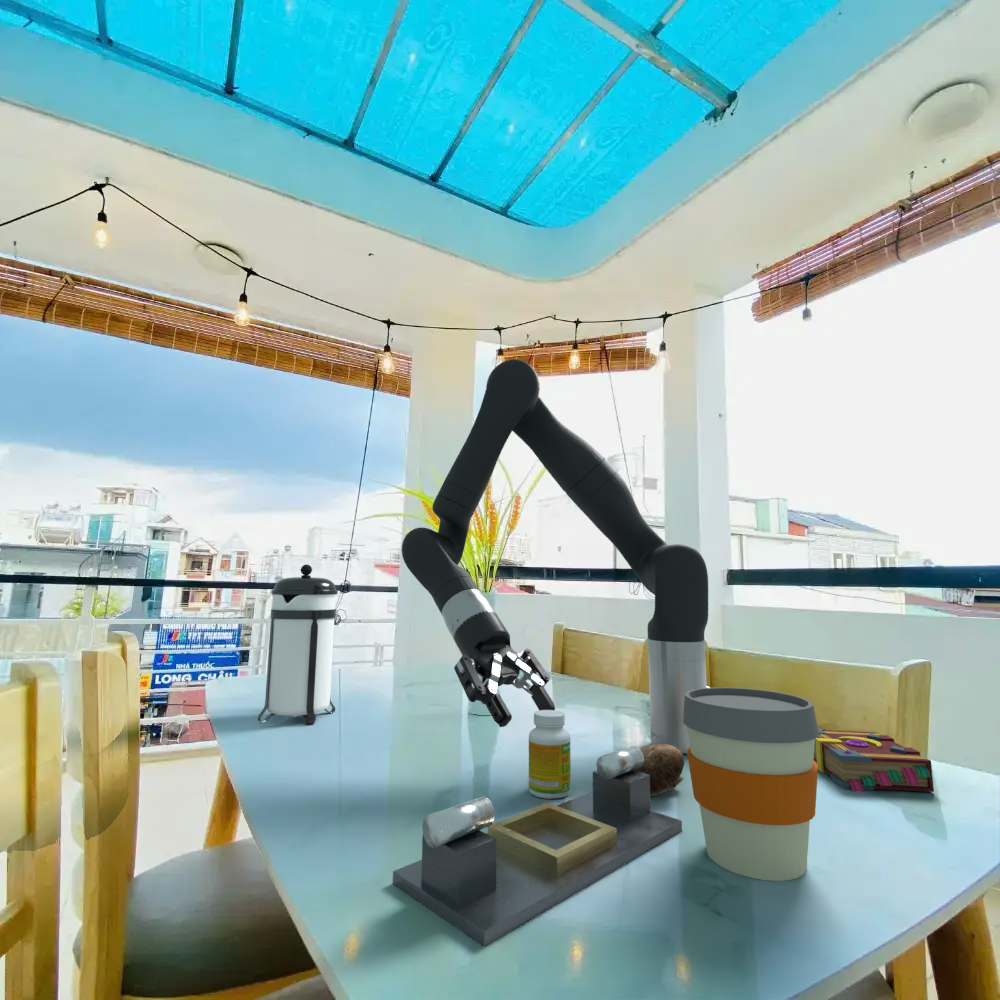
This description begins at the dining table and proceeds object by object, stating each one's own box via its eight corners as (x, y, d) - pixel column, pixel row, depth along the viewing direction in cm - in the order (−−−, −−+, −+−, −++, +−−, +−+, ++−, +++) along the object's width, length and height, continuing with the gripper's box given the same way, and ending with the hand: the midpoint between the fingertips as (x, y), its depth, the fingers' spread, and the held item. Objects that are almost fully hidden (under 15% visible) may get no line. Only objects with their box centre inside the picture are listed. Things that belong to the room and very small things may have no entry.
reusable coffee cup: (855, 867, 53) (842, 702, 56) (779, 907, 47) (768, 717, 49) (737, 820, 64) (730, 683, 66) (661, 847, 57) (656, 693, 59)
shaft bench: (594, 798, 70) (593, 736, 71) (684, 829, 62) (681, 757, 63) (387, 885, 50) (391, 795, 51) (479, 949, 41) (480, 839, 42)
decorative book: (879, 761, 87) (876, 727, 88) (943, 800, 72) (938, 758, 72) (800, 757, 89) (798, 724, 90) (846, 794, 73) (843, 753, 74)
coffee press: (352, 719, 110) (359, 564, 114) (266, 730, 101) (277, 562, 105) (325, 704, 124) (332, 566, 129) (247, 712, 115) (257, 564, 120)
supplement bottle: (569, 801, 69) (568, 718, 71) (525, 798, 70) (525, 716, 72) (572, 786, 74) (571, 709, 76) (531, 783, 75) (531, 707, 77)
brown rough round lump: (699, 760, 75) (672, 722, 75) (701, 804, 68) (671, 762, 68) (648, 780, 79) (622, 744, 78) (644, 824, 71) (615, 785, 71)
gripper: (449, 610, 80) (505, 708, 70) (520, 608, 89) (578, 694, 79) (426, 645, 83) (476, 744, 73) (496, 640, 92) (549, 726, 82)
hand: (529, 718), depth 76 cm, fingers open, 8 cm apart
